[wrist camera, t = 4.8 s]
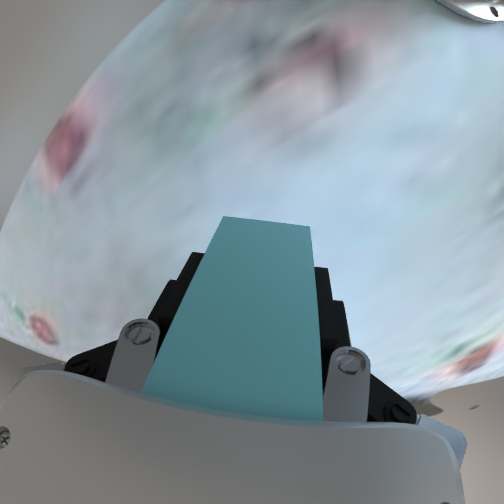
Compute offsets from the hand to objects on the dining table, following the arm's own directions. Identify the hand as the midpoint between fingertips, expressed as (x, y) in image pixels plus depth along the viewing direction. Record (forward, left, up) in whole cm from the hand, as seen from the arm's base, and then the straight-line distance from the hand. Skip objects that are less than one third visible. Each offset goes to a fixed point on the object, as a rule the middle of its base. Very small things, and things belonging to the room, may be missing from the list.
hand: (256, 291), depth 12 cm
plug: (0, 0, -3) cm, 3 cm away
